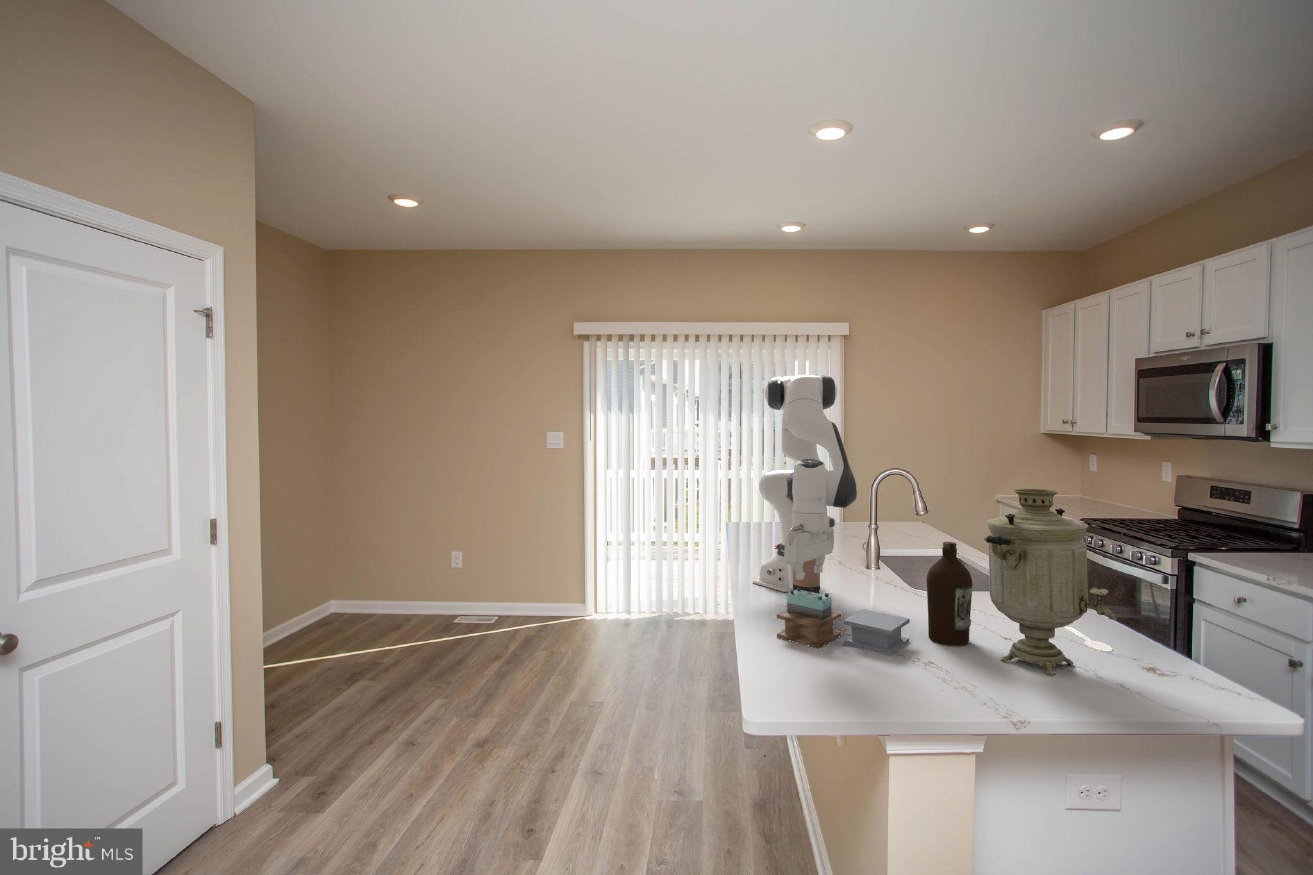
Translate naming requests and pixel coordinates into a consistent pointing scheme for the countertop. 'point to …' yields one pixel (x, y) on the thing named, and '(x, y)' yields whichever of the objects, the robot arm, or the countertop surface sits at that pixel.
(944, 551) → the olive oil
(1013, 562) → the samovar
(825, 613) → the block
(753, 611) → the countertop surface
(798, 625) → the stand
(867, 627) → the stand
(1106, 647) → the spoon
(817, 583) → the travel mug
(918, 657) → the countertop surface
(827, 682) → the countertop surface
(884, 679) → the countertop surface
